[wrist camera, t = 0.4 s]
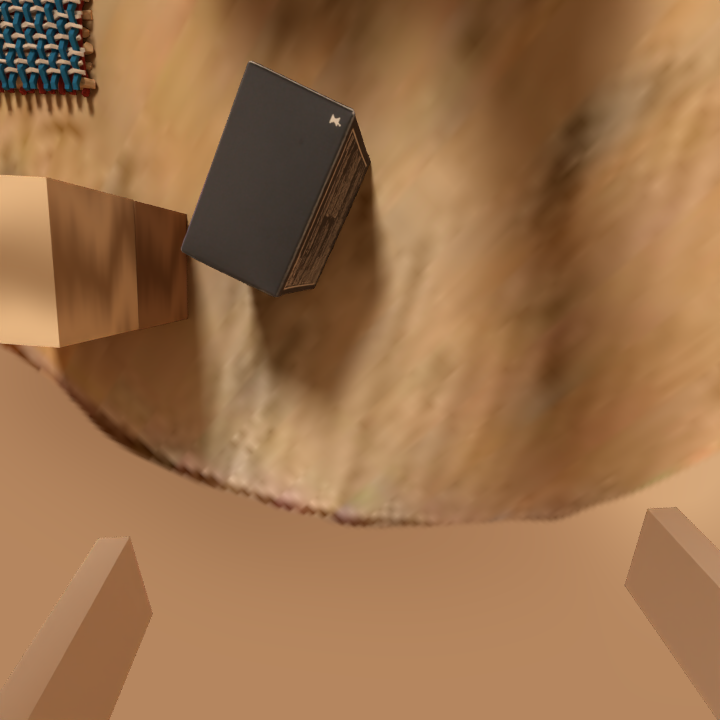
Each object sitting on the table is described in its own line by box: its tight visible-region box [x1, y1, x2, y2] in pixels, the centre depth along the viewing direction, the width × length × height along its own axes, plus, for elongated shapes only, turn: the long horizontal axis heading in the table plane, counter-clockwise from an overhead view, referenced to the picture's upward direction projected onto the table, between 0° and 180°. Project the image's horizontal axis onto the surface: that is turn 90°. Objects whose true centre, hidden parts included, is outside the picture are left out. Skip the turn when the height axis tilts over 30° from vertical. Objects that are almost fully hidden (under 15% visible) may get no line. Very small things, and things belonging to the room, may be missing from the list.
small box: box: [181, 61, 371, 297], centre depth 28 cm, size 11×6×10 cm, turn 155°
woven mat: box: [0, 0, 96, 97], centre depth 32 cm, size 10×11×2 cm
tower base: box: [134, 201, 188, 330], centre depth 32 cm, size 8×12×7 cm, turn 86°
